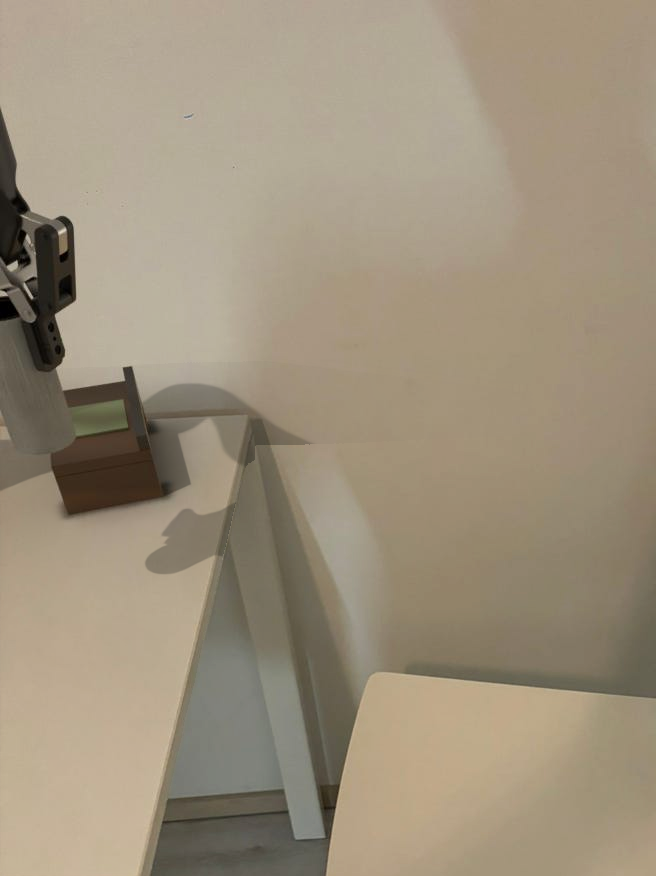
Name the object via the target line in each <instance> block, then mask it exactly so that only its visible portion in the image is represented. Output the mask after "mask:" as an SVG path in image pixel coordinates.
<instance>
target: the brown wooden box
mask: <svg viewBox="0 0 656 876" xmlns="http://www.w3.org/2000/svg"><path fill="white" fill-rule="evenodd" d="M122 372H123V378H124V380H122V381H115V382H108V383H101V384H96V385H89V386H83V387H78V388H71V389H64V390H63V393H64V396H65V399H66V402H67V406H68V409H69V412H70V415H71V418H72V422H73V425H74V428H75V433H76V438H75V440H74V441H73V443H72V444H70V445H69V446H68V447H66V448H64V449H62V450H60V451H57V452H54V453H50V467H51V470H52V474H53V476H54V479H55V482H56V485H57V487H58V490H59V493H60V496H61V499H62V501H63V503H64V504H63V505H64V508H65V510H66V513H67V515H68V516H70V515H77V514H81V513H82V514H83V513H85V512H91V511H97V510H102V509H107V508H113V507H118V506H123V505H128V504H133V503H138V502H144V501H149V500H154V499H160V498H164V493H163V488H162V484H161V479H160V477H159V473H158V469H157V466H156V462H155V459H154V454H153V451H152V446H151V442H150V436H149V433H150V430H149V429H150V428H149V424H148V421H147V417H146V413H145V409H144V405H143V402H142V397H141V394H140V390H139V386H138V382H137V378H136V375H135V372H134V367H133V366H132V365H130V366H123V367H122Z"/></svg>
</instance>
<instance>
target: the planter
mask: <svg viewBox="0 0 656 876" xmlns="http://www.w3.org/2000/svg"><path fill="white" fill-rule="evenodd" d="M22 321H24V320H23V319H22V318H21V316H20V315H19V313H18V311H17V310H16V308H15V306H14V305H13V303H12V301H11V300H10V298H9V296H8V295H0V414H1V417H2V419H3V422H4V425H5V427H6V430H7V433H8V435H9V438H10V442H11V443H12V445H13V448H14V449H15V450H16V451H17V452H18V453H21V454H22V455H23V454H24V455H28V456H44V455H48V454H50V453H54V452H57V451H60V450H62V449H64V448H66V447H68V446H69V445H70V444H72V443H73V441H74V440H75V438H76V433H75V428H74V425H73V422H72V418H71V415H70V412H69V409H68V406H67V402H66V399H65V396H64V393H63V391H64V390H63V387H62V384H61V380H60V376H59V374H58V371H57V367H56V368H55V369H53V370H52V371H51V372H42V371H38V370H37V369H36V367H35V364H34V361H33V358H32V355H31V352H30V349H29V346H28V343H27V340H26V336H25V333H24V330H23V327H22V324H21V322H22ZM50 455H51V454H50Z"/></svg>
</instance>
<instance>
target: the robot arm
mask: <svg viewBox="0 0 656 876" xmlns="http://www.w3.org/2000/svg"><path fill="white" fill-rule="evenodd" d="M7 128H8V127H7V125H6V121H5V118H4V115H3V111H2V108H1V106H0V291H1V292H4V293H6V296H9V298H10V300H11V301H12V303H13V305H14V306H15V308H16V310H17V311H18V313H19V315H20V316H21V318H22V319H23V320H24V321H22V322H21V324H22V327H23V330H24V333H25V336H26V340H27V343H28V346H29V349H30V352H31V355H32V358H33V361H34V364H35V367H36V369H37V370H38V371H42V372H51V371H52V370H53V369H55V368H56V369H57V367H59V366H61V365H62V364H63V361H64V358H65V357H66V348H65V344H64V341H63V338H62V334H61V332H60V328H59V324H58V322H57V319H56V315H57V314H58V313H60V312H61V311H63V310H65V309H66V308H67V307H69V306H70V305H73V303H75V302H76V301H77V275H76V255H75V254H76V251H75V249H76V247H75V228H74V223H73V222H72V220H71V219H70V218H68V217H67V216H65V215H58V216H57V217H55V218H53V219H51V218H48V217H46V216H44V215H42V214H41V215H40V214H38V213H36V212H34V211H32V210H31V208H30V205H29V204H28V202H27V201H26V200H25V198H24V197H23V195H22V194H21V192H20V190H19V188H18V186H17V180H16V179H17V169H18V168H17V166H18V163H17V158H16V155H15V152H14V148H13V145H12V142H11V139H10V134H9V131H8V129H7ZM27 236H28V237H29V240H30V243H29V241H28V240H27ZM15 262H16V263H17V267H16V268H15V269H14V270H13V269H12V271H11V270H10V269H9V268H8V267H9V266H11V265H12V264H14V263H15ZM24 284H25V285H24ZM25 286H26V288H27V289H28V291H29V292H28V291H27V289H26V288H25ZM29 293H30V294H31V296H32V298H31V296H30V295H29Z"/></svg>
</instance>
